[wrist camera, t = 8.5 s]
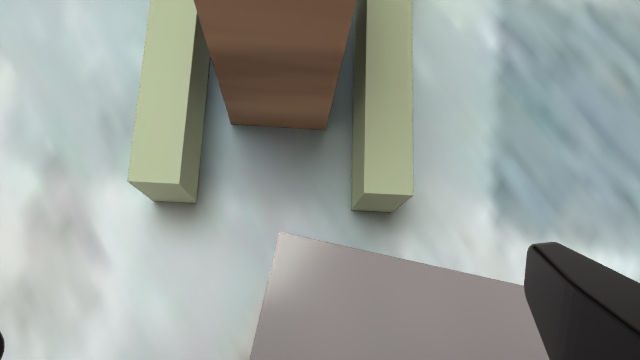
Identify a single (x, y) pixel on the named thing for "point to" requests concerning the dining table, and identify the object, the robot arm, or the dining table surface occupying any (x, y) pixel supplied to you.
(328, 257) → the slate serving board
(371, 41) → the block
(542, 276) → the robot arm
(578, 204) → the dining table surface
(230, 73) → the walnut card box
